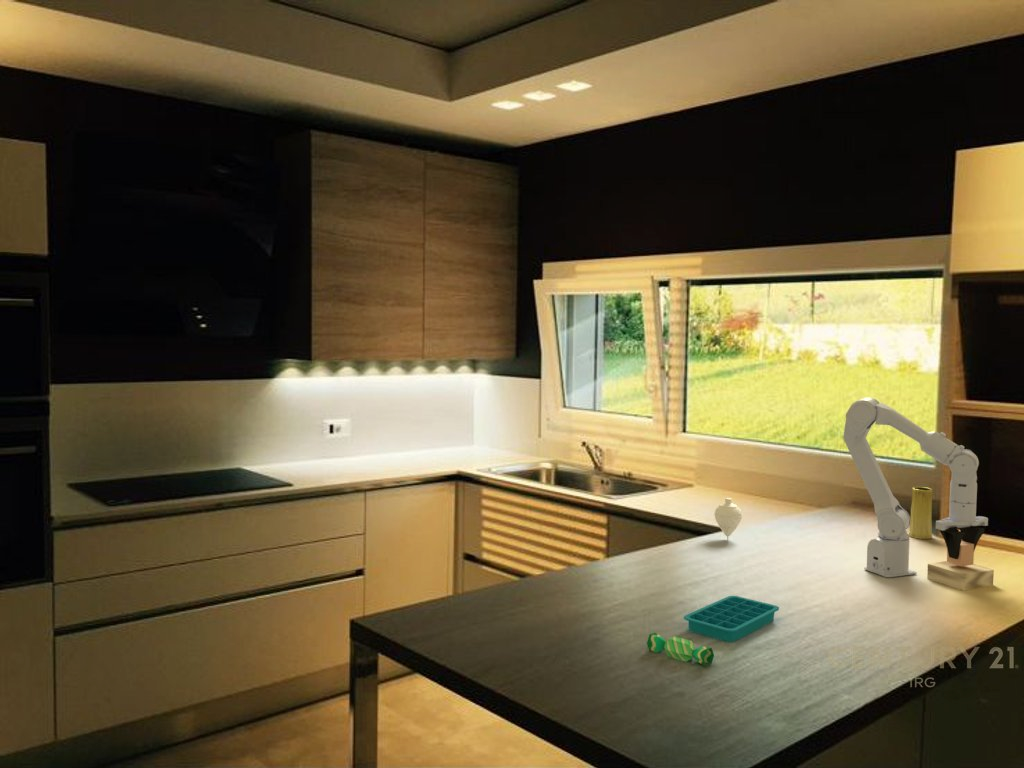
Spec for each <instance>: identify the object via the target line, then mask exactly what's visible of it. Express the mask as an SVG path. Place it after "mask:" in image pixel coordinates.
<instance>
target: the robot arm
mask: <svg viewBox="0 0 1024 768" xmlns="http://www.w3.org/2000/svg"><path fill="white" fill-rule="evenodd" d="M874 423H875V425H878V426H879V425H881V426H882V425H883V426H890V427H891V428H893V429H895V430H897V431H899V432H901V433H902V434H904V435H905V436H907V437H909V438H911V439H912V440H914V441H916V442H917V443H918V444H919V447H920V450H921V451H922V452H923V453H925V454H927V455H928V456H929V457H931V458H932V459H934V460H936V461H937V462H939V463H940V464H942V465H943V466H947V467H949V470H950V472H951V476H950V477H951V480H950V483H949V500H948V501H949V502H948V503H949V504H948V517H946V518H943V519H939V520H935V529H936V530H938V531H939V533H940V534H941V535H942V538H943V540H944V542H945V545H946V549H947V550H948V554H949V557H951V558H954V559H958V557H959V552H960V544H961V541H965V542H968V543H972V544H974V552H975V550H976V547H977V546H978V542H979V541H980V539H981V537H982V536H983V535H984V534H985V528H984V527H986V526H989V518H988V517H986V516H982V515H981V516H980V515H978V516H977V499H978V497H977V495H978V494H977V493H978V483H977V481H978V476H977V471H978V467H979V465H980V461H979V458H978V456H977V455H976V454H975V453H974V452H973V451H972V450H971V449H967V448H966V449H965V446H964V445H962V444H960V445H959V444H957V443H955V442H953V441H952V440H951V439H949V438H947V437H946V436H947V434H946V433H944V432H943V431H941V432H938V431H930V432H929V431H926V430H925V429H923V428H922V427H920V426H919V425H918V424H916V423H915V422H913V421H912V420H910V419H908V418H907V417H906V416H904V415H902V414H901V413H900V412H898V411H897V410H896V409H894V408H892V407H890V406H889V405H887V404H885V403H883V402H880V401H878V400H877V399H876V398H874V397H863V398H862V399H858V400H855V401H854V402H852V404H850V406H849V408H848V409H847V412H846V413H845V424H844V428H843V429H844V430H843V435H842V436H843V441H844V443H845V445H846V447H847V450H848V451H849V454H850V455H851V456H850V457H851V458H852V460H853V462H854V464H855V466H856V468H857V471H858V474H860V477H861V478H862V479H861V480H862V481H863V484H864V487H865V488H866V490H867V492H868V494H869V496H870V498H871V502H872V503H873V506H874V513H875V515H876V518H877V529H878V531H879V532H877V536H876V537H875V538H873V539H870V541H868V543H867V549H866V566H864V570H866V571H868V572H871V573H874V574H876V575H879V576H882V577H885V578H895V577H902V576H903V577H904V576H910V575H917V574H918V573H917V572H918V571H915V570H912V569H909V563H910V562H909V560H910V536H909V533H908V532H907V529H908V528H910V519H911V515H910V514H909V512H908V511H907V510H906V509H904V508H903V507H902V506H901V504H900V501H899V500H898V499H897V498H896V497H895V496H894V494H893V493H892V490H891V488H890V486H889V484H888V482H887V480H886V477H885V476H884V473H883V471H882V468H880V465H879V463H878V461H877V458H876V457H875V454H874V452H873V451H872V449H871V446H870V444H869V442H868V439H867V436H868V434H869V432H870V430H871V428H872V426H873V425H874ZM980 526H983V527H980ZM947 550H946V551H947Z"/></svg>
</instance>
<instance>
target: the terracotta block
mask: <svg viewBox="0 0 1024 768" xmlns="http://www.w3.org/2000/svg"><path fill="white" fill-rule="evenodd" d="M946 551H947V552H946V561H947V562H948V563H952V564H955V565H958V566H967V565H973V564H974V560H975V559H974V558H975V557H974V556H975V555H974V554H975V551H974V544H972V543H968V542H965V541H961V544H960V552H959V557H958V559H954V558H951V557H949V554H948V550H946Z"/></svg>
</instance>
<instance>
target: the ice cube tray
mask: <svg viewBox="0 0 1024 768" xmlns="http://www.w3.org/2000/svg"><path fill="white" fill-rule="evenodd" d="M777 611H780V607H779V606H778V605H775V604H770V603H766V602H762V601H760V600H759V601H758V600H754V599H750V598H747V597H743V596H739V595H729V596H728V595H727V596H726V597H724V598H722V599H719V600H717V601H715V602H712V603H710V604H708V605H706V606H703V607H701V608H699V609H697V610H694V611H691V612H689V613H688V614H685V615H683V619H684V620H685V621H688V630H689V632H692V633H695V632H696V634H699V635H702V636H706V637H710V638H713V639H716V640H720V641H723V642H727V643H733V642H735V641H738V640H739V639H741V638H743V637H745V636H747V635H749V634H751V633H753V632H755V631H757V630H759V629H761V628H763V627H764V626H766V625H768V624H770V623H772V622H773V621H774V619H775V613H776V612H777Z"/></svg>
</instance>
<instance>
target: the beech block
mask: <svg viewBox="0 0 1024 768" xmlns="http://www.w3.org/2000/svg"><path fill="white" fill-rule="evenodd" d="M994 573H995V572H994V569H992V568H988V567H984V566H981V565H978V564H974V563H973V565H967V566H958V565H955V564H952V563H948V562H947V560H946V561H940V562H939V561H937V562H931V563H928V564H927V573H926V575H927V577H926V578H927V580H931V581H932V582H933V581H934V582H937V583H940V584H942V585H943V584H944V585H945V586H949V587H952V588H955V589H959V590H962V591H966V590H972V589H979V588H984V587H990V586H994Z"/></svg>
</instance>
